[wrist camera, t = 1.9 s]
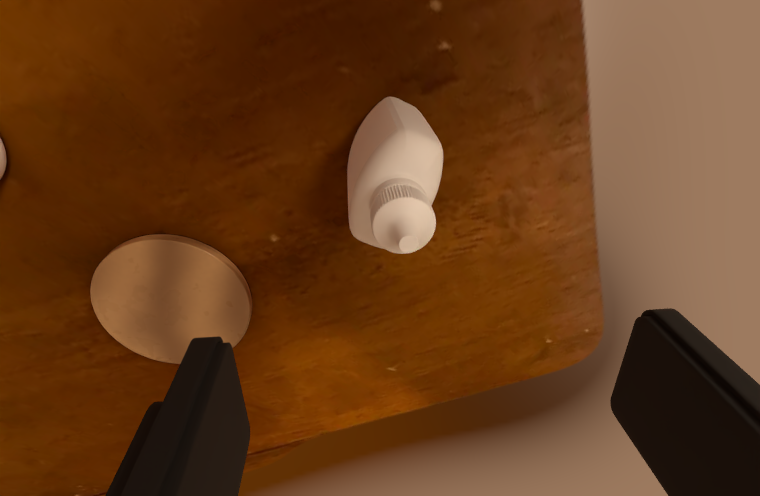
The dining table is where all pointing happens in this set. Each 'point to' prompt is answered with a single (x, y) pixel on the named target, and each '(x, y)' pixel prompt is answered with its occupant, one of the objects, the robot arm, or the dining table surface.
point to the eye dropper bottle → (394, 178)
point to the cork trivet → (169, 296)
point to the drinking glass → (2, 159)
